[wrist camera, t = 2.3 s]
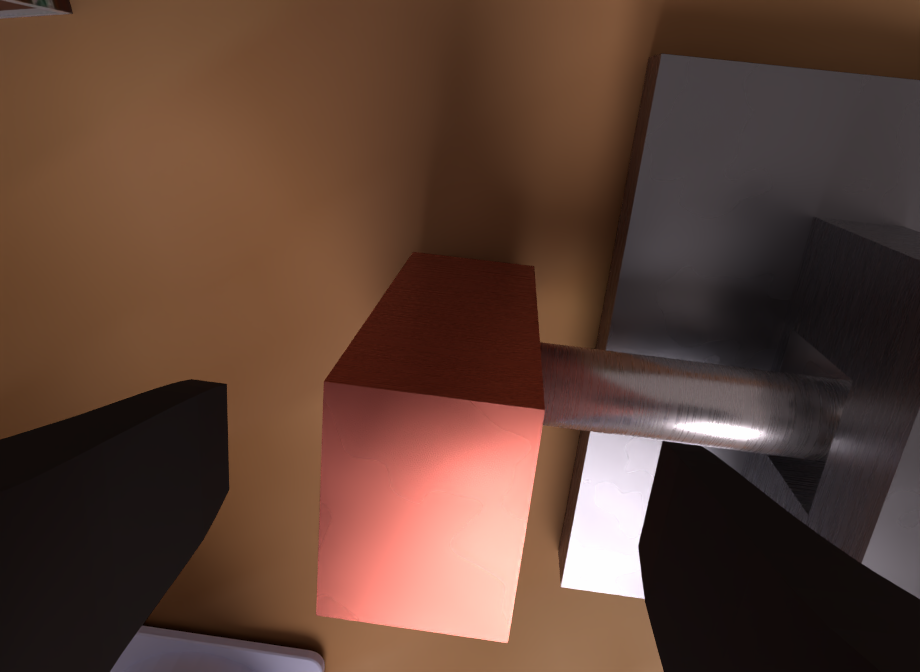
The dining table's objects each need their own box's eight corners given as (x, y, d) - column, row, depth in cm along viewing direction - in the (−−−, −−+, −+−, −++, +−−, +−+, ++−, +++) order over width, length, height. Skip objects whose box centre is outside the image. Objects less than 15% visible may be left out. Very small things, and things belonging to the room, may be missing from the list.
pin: (402, 397, 18) (316, 614, 10) (413, 251, 17) (323, 381, 9) (917, 464, 17) (1220, 746, 10) (974, 318, 16) (1377, 517, 8)
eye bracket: (558, 552, 20) (576, 770, 14) (649, 57, 16) (741, 29, 9) (894, 599, 20) (1077, 847, 13) (1094, 103, 15) (1536, 109, 9)
